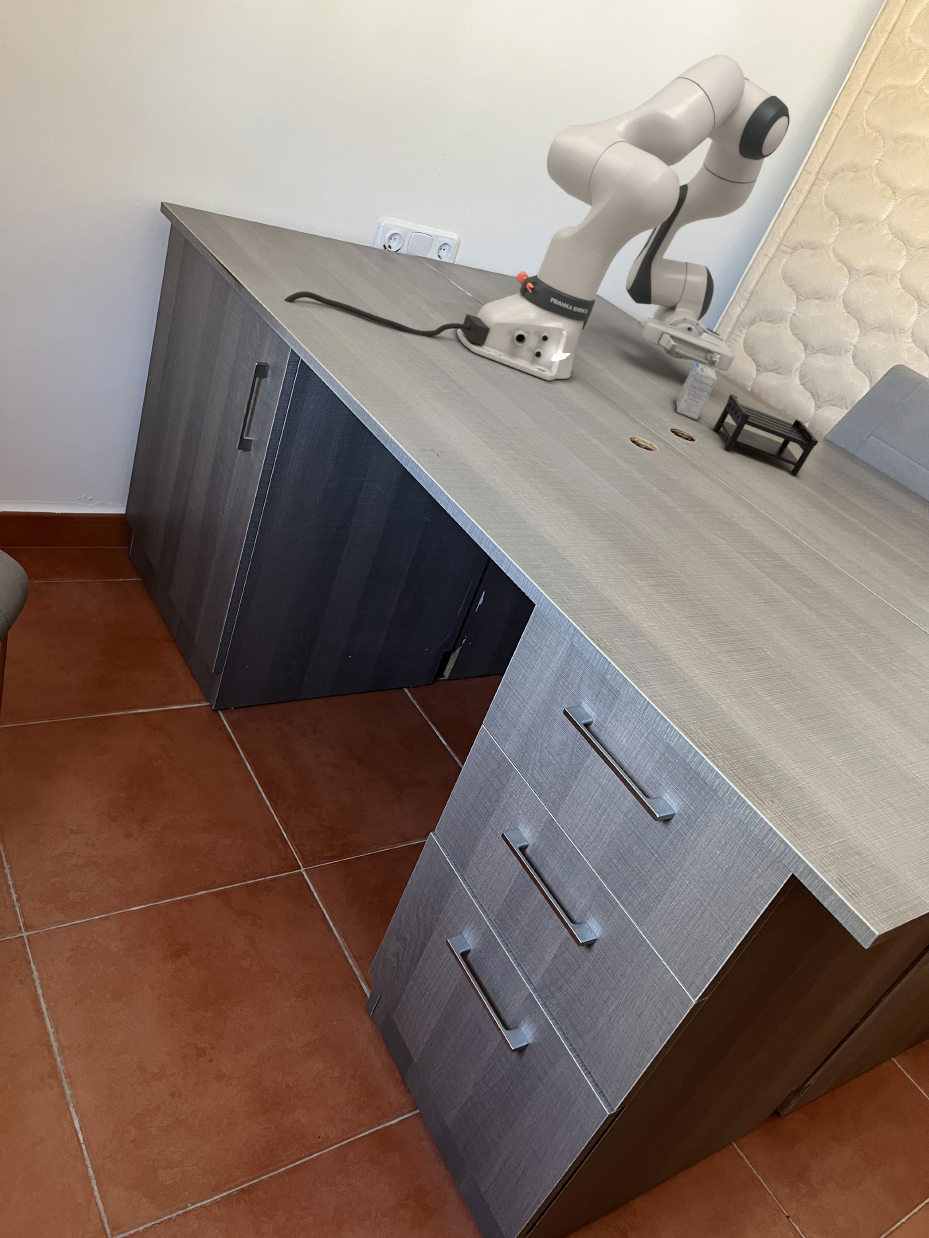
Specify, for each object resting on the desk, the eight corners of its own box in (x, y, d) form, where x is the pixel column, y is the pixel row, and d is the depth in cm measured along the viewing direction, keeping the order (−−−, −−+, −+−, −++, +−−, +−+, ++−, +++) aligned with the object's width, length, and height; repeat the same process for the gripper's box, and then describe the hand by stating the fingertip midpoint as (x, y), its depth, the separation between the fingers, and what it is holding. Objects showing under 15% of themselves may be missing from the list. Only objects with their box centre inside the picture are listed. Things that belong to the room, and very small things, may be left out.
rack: (724, 449, 170) (744, 413, 167) (711, 428, 180) (730, 393, 176) (797, 477, 173) (819, 442, 169) (781, 455, 182) (801, 421, 179)
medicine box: (696, 421, 180) (718, 379, 176) (675, 412, 180) (696, 370, 176) (695, 410, 187) (715, 370, 183) (674, 401, 187) (695, 361, 183)
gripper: (644, 305, 198) (654, 322, 186) (729, 338, 202) (745, 357, 190) (631, 333, 201) (640, 351, 189) (715, 366, 205) (730, 386, 193)
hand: (693, 355), depth 190 cm, fingers open, 8 cm apart
